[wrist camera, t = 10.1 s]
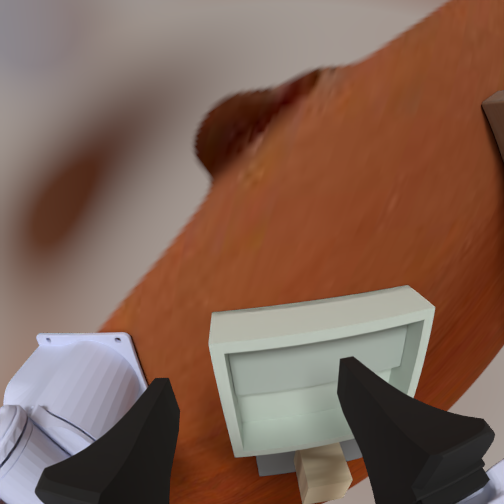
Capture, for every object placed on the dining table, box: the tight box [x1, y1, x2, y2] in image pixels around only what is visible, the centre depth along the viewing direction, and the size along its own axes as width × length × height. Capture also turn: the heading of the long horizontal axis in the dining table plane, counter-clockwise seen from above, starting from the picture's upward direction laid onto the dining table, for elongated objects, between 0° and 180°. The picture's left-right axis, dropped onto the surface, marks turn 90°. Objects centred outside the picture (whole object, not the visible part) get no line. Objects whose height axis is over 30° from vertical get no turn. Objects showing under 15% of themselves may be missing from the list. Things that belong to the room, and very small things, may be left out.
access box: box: [209, 285, 435, 457], centre depth 21 cm, size 15×12×4 cm
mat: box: [256, 438, 362, 476], centre depth 26 cm, size 12×8×1 cm, turn 96°
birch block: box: [294, 442, 352, 504], centre depth 23 cm, size 4×4×6 cm
